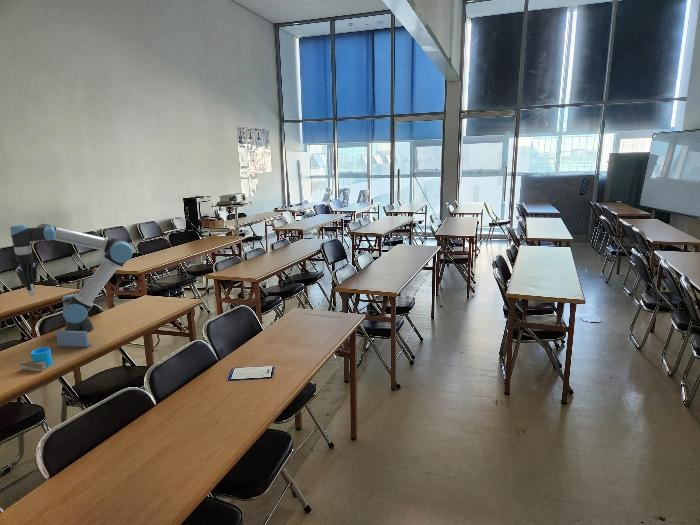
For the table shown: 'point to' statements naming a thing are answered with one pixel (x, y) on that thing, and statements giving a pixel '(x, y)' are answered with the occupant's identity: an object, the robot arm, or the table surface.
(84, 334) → the screen
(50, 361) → the mug
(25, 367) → the block
